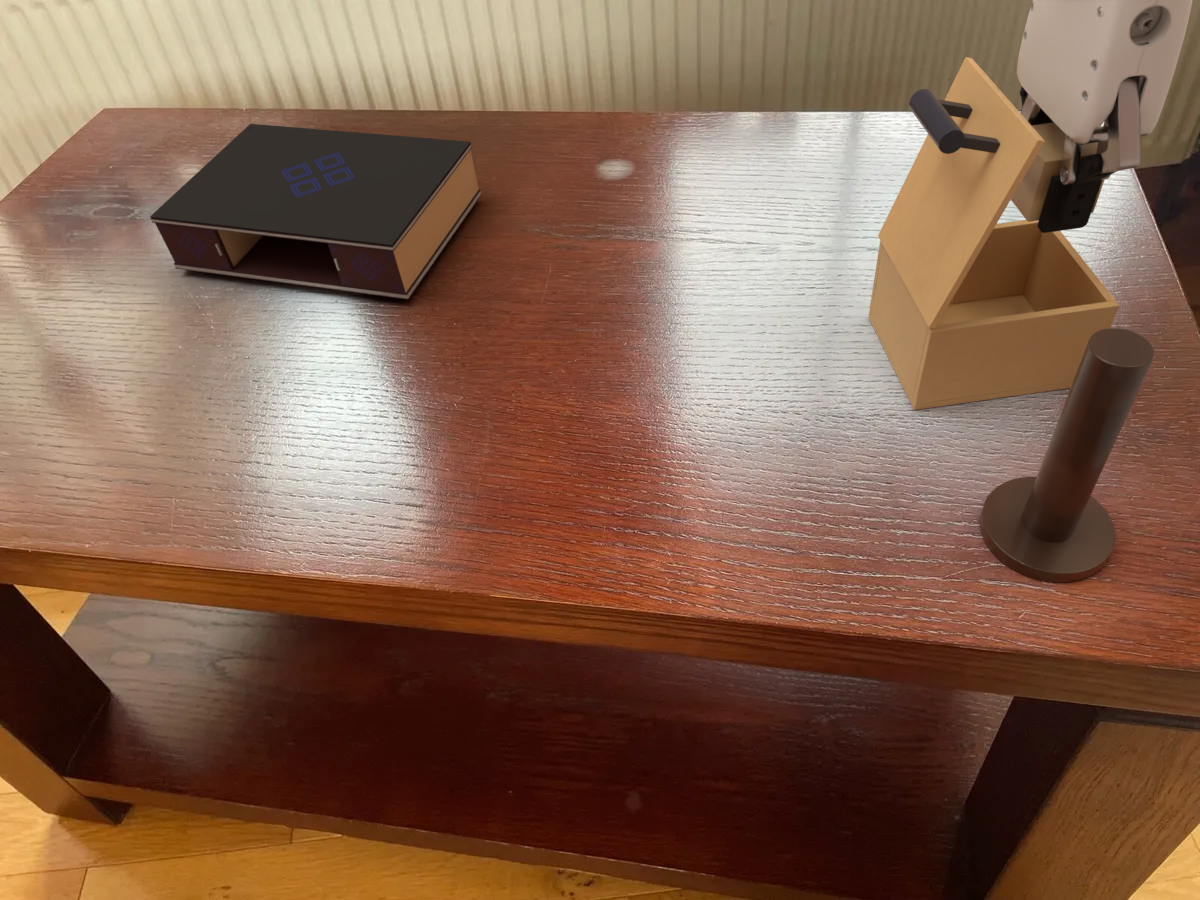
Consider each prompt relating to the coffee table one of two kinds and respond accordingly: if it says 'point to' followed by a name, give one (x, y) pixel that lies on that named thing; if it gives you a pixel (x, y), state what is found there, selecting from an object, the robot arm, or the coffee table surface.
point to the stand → (1071, 471)
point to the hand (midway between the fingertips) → (1044, 204)
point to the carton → (995, 321)
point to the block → (1045, 171)
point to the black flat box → (322, 209)
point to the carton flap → (956, 186)
